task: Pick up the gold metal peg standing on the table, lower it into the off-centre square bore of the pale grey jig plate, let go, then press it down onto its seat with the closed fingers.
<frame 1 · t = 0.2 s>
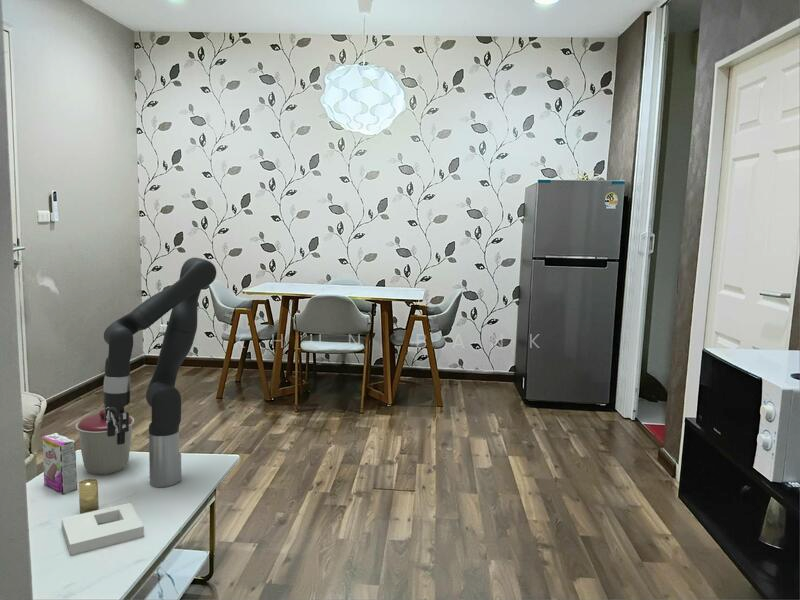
hand: (115, 439, 191), 18 cm above the table, tool pointing down, fingers open, 8 cm apart
jig: (102, 532, 170), on the table
canister: (106, 469, 211), on the table
gold metal peg: (89, 510, 182), on the table
candy bar box: (60, 488, 196), on the table
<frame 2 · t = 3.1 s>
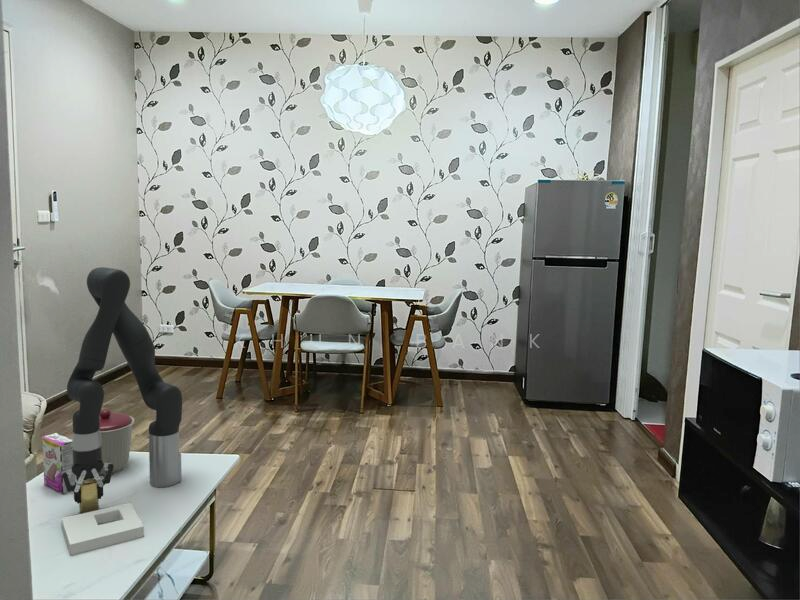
hand: (88, 499, 181), 3 cm above the table, tool pointing down, fingers closed on gold metal peg, 5 cm apart
gold metal peg: (89, 510, 182), on the table, touching gripper
everything else where it was.
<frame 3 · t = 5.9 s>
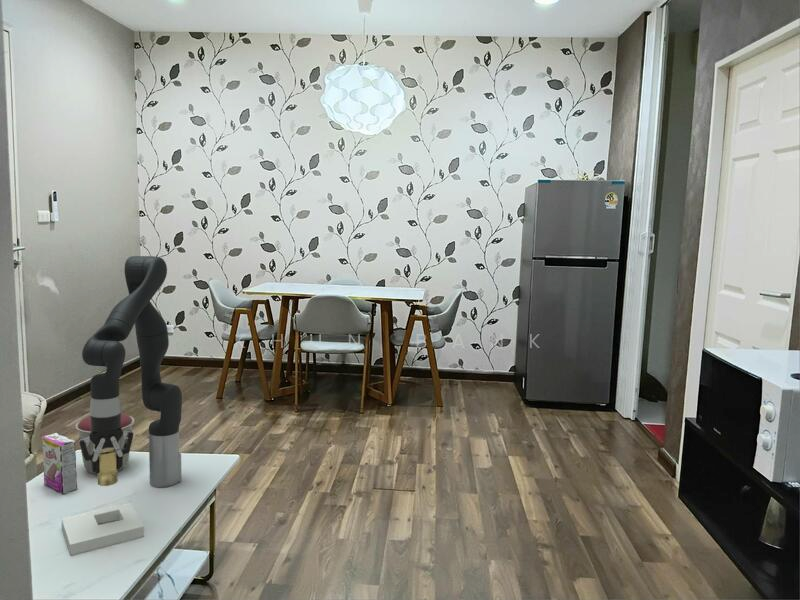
hand: (107, 470, 171), 17 cm above the table, tool pointing down, fingers closed on gold metal peg, 5 cm apart
gold metal peg: (107, 482, 171), point 13 cm above the table, touching gripper
everything else where it was.
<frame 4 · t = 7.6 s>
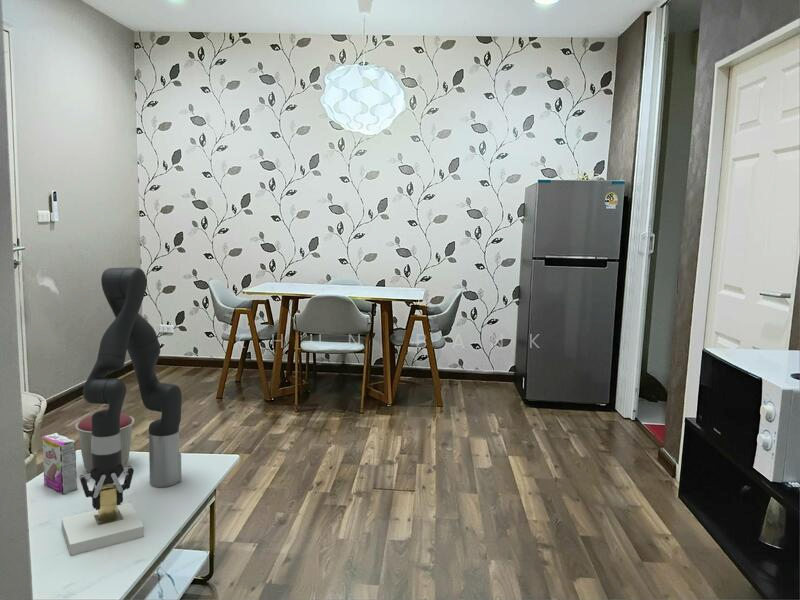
hand: (107, 506, 172), 6 cm above the table, tool pointing down, fingers closed on gold metal peg, 5 cm apart
gold metal peg: (108, 517, 173), point 3 cm above the table, touching gripper
everything else where it was.
when the fingers open (5 cm above the table, at t = 8.8 s): gold metal peg drops 1 cm, resting in jig.
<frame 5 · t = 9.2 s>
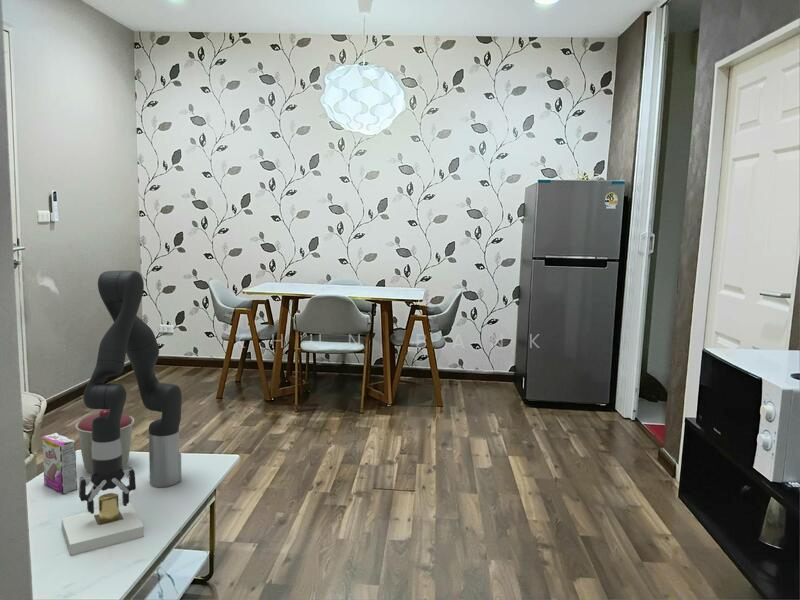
hand: (108, 508, 172), 6 cm above the table, tool pointing down, fingers open, 8 cm apart
gold metal peg: (109, 527, 173), resting in jig
everything else where it was.
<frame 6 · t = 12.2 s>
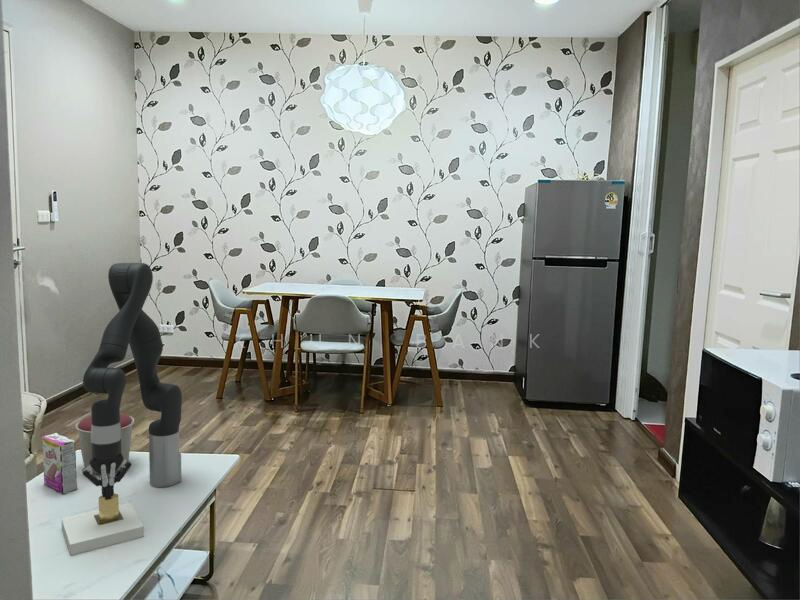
hand: (107, 497, 172), 9 cm above the table, tool pointing down, fingers closed
gold metal peg: (109, 527, 173), resting in jig, touching gripper
everything else where it was.
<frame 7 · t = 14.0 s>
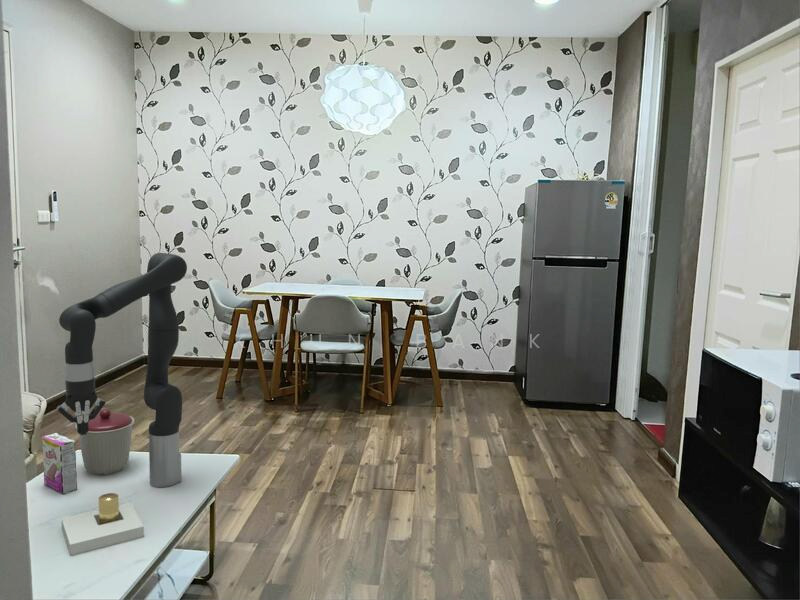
hand: (82, 434, 179), 23 cm above the table, tool pointing down, fingers closed
gold metal peg: (109, 527, 173), resting in jig
everything else where it was.
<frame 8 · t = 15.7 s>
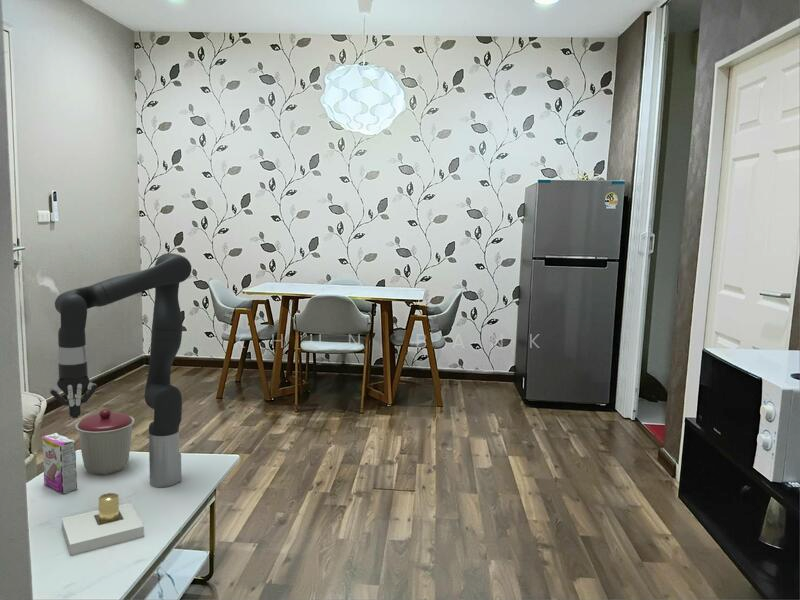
hand: (74, 417, 182), 27 cm above the table, tool pointing down, fingers closed
nothing on the table moved.
at the end: gold metal peg 0.1 cm from the target spot on the jig, point 0.0 cm above the jig's base; gold metal peg tilted 0°; the gripper is holding nothing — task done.
